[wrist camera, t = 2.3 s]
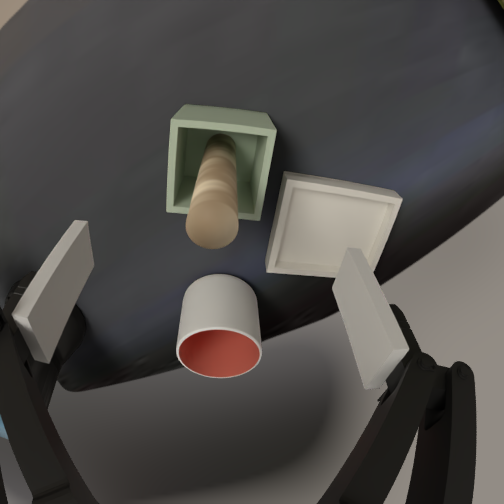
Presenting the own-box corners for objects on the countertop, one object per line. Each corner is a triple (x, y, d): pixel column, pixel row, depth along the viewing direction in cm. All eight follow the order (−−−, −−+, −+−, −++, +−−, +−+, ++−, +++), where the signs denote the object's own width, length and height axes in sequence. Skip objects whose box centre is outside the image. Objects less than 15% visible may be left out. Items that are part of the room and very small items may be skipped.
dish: (264, 260, 41) (266, 272, 39) (283, 171, 34) (287, 179, 32) (364, 268, 42) (369, 280, 40) (394, 190, 36) (402, 199, 34)
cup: (190, 262, 40) (181, 320, 32) (265, 276, 42) (273, 334, 34) (180, 315, 46) (172, 372, 37) (246, 326, 48) (249, 382, 39)
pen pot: (179, 177, 34) (166, 211, 27) (185, 104, 29) (171, 118, 22) (254, 185, 35) (259, 220, 28) (266, 112, 30) (276, 130, 24)
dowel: (204, 159, 32) (184, 246, 19) (207, 132, 30) (187, 200, 17) (233, 162, 32) (235, 251, 19) (237, 135, 31) (241, 206, 17)
